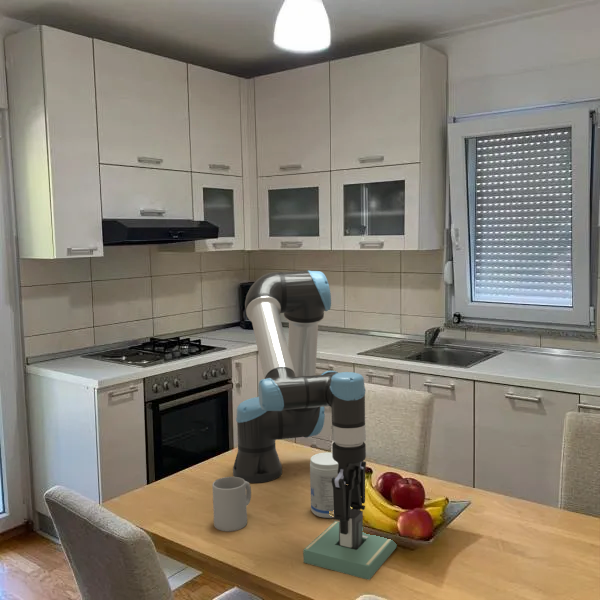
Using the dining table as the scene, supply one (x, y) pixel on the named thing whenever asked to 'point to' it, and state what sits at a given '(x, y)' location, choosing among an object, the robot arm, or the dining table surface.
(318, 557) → the green square socket board
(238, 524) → the mug
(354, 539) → the plug
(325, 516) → the supplement tub
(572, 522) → the dining table surface
